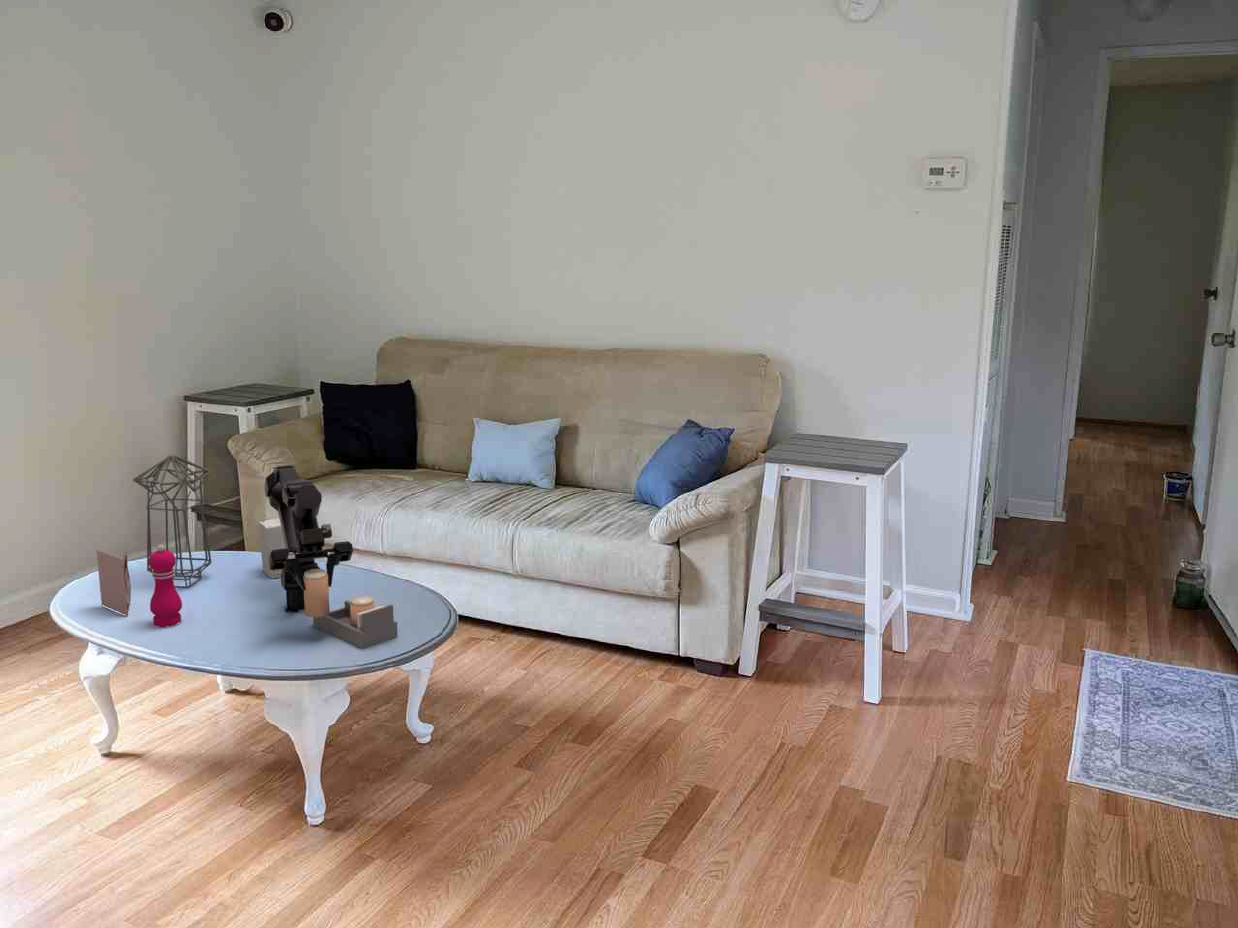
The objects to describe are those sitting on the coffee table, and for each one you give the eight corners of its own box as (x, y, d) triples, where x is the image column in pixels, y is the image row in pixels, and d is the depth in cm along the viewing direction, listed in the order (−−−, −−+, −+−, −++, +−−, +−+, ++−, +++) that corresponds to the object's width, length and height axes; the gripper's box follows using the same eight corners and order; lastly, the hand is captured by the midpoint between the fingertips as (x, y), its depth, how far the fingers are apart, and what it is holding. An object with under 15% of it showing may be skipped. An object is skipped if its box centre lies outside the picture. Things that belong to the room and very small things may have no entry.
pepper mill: (190, 619, 262) (183, 542, 257) (168, 630, 255) (162, 551, 250) (166, 615, 264) (159, 538, 259) (144, 625, 257) (137, 547, 253)
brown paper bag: (131, 616, 263) (126, 559, 259) (98, 619, 260) (92, 561, 257) (134, 600, 273) (129, 545, 270) (102, 603, 271) (97, 547, 267)
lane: (313, 628, 258) (311, 593, 256) (348, 617, 265) (347, 583, 263) (362, 651, 245) (360, 615, 243) (397, 639, 253) (396, 604, 251)
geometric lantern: (138, 590, 281) (126, 460, 273) (170, 571, 296) (160, 448, 288) (194, 593, 278) (183, 463, 271) (223, 574, 294) (215, 450, 286)
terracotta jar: (302, 617, 247) (300, 576, 244) (307, 607, 252) (305, 568, 250) (327, 616, 248) (325, 576, 245) (331, 607, 253) (329, 568, 250)
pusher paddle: (358, 641, 248) (357, 613, 247) (384, 632, 254) (383, 605, 252) (363, 644, 247) (362, 616, 245) (389, 635, 252) (389, 607, 251)
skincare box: (291, 576, 293) (288, 524, 290) (269, 579, 290) (266, 527, 287) (282, 567, 300) (279, 516, 297) (260, 570, 297) (257, 519, 293)
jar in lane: (348, 638, 250) (347, 603, 248) (354, 629, 256) (353, 594, 254) (372, 639, 250) (370, 603, 248) (377, 630, 256) (376, 595, 254)
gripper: (268, 517, 243) (278, 578, 237) (350, 508, 251) (362, 568, 245) (264, 539, 252) (274, 599, 245) (344, 530, 260) (355, 588, 254)
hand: (317, 588), depth 247 cm, fingers closed on terracotta jar, 6 cm apart
